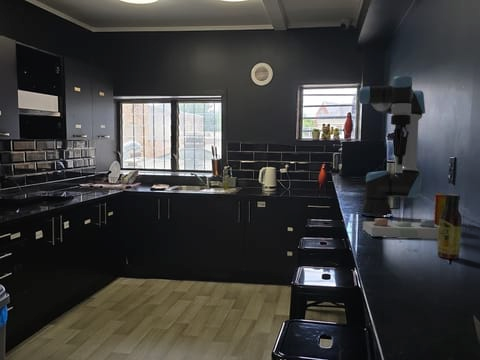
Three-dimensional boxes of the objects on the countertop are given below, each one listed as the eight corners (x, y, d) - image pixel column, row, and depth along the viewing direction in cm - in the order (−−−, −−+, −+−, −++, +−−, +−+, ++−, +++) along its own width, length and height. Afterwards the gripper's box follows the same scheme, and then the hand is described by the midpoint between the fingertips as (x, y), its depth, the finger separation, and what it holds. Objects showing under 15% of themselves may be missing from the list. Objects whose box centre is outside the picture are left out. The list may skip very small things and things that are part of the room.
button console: (362, 231, 181) (362, 221, 181) (431, 232, 180) (431, 223, 180) (371, 237, 167) (372, 227, 167) (446, 239, 166) (447, 229, 166)
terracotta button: (372, 225, 175) (373, 217, 175) (385, 225, 175) (385, 218, 175) (376, 227, 170) (376, 219, 170) (389, 227, 170) (389, 220, 170)
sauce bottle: (433, 255, 140) (436, 193, 139) (451, 255, 141) (455, 193, 139) (444, 260, 133) (447, 195, 132) (464, 260, 134) (467, 195, 133)
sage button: (395, 228, 175) (395, 221, 175) (408, 229, 175) (408, 221, 175) (399, 231, 170) (399, 223, 170) (412, 231, 170) (413, 223, 170)
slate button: (418, 226, 175) (418, 219, 174) (431, 226, 174) (431, 219, 174) (423, 228, 170) (423, 221, 169) (436, 229, 169) (436, 221, 169)
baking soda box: (451, 233, 179) (453, 194, 178) (434, 232, 181) (436, 193, 180) (449, 230, 187) (451, 192, 186) (433, 229, 190) (434, 192, 189)
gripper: (386, 116, 186) (384, 171, 187) (396, 113, 173) (394, 173, 174) (404, 116, 185) (402, 172, 187) (416, 113, 172) (413, 173, 174)
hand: (398, 172), depth 180 cm, fingers closed
